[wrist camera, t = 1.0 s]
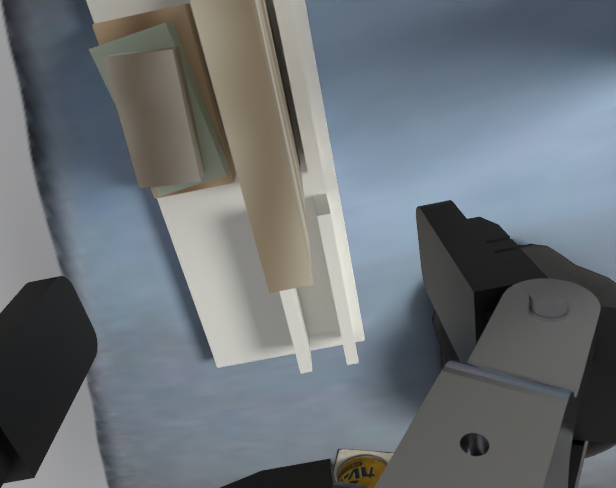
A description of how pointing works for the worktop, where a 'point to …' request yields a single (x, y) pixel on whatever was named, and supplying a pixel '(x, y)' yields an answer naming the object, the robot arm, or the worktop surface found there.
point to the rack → (239, 236)
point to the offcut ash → (156, 116)
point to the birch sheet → (258, 133)
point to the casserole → (553, 269)
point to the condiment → (360, 466)
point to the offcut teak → (195, 58)
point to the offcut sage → (206, 132)
